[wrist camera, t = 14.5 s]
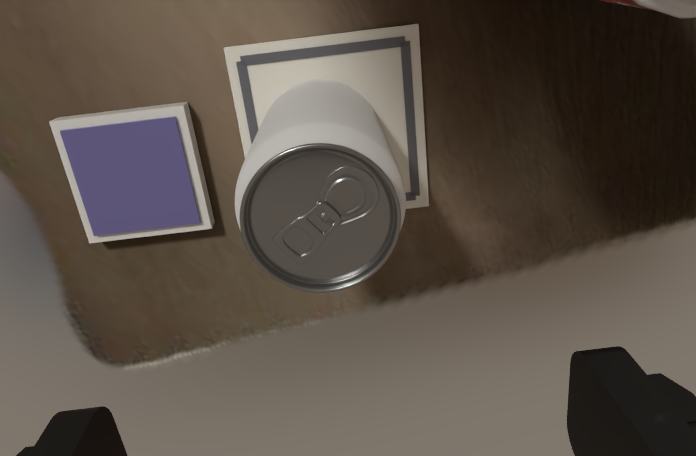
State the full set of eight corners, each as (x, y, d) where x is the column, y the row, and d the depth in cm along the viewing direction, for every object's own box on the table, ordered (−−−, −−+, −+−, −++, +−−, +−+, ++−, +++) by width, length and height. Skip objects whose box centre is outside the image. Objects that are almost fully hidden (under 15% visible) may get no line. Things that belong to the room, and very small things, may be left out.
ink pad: (57, 117, 29) (46, 122, 28) (187, 101, 29) (182, 106, 28) (96, 236, 32) (87, 245, 31) (214, 222, 32) (210, 230, 31)
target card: (224, 47, 28) (223, 47, 28) (417, 23, 28) (418, 23, 28) (258, 224, 32) (258, 226, 32) (428, 204, 32) (429, 206, 32)
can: (404, 139, 30) (451, 223, 19) (321, 215, 32) (320, 334, 21) (321, 50, 28) (321, 88, 17) (237, 137, 30) (187, 222, 19)
